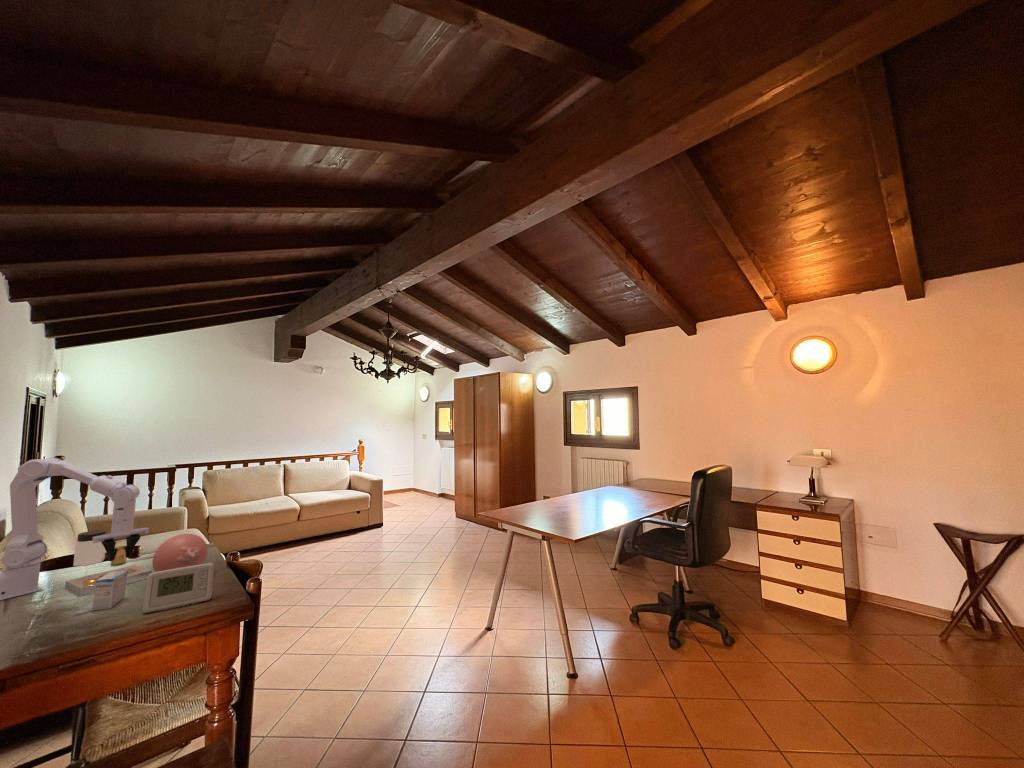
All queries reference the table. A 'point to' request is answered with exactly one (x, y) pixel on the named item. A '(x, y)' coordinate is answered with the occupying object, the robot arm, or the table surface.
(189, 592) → the digital clock
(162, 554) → the pink oval ball
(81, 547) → the jar
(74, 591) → the jig
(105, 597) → the medicine box
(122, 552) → the bushing
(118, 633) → the table surface
